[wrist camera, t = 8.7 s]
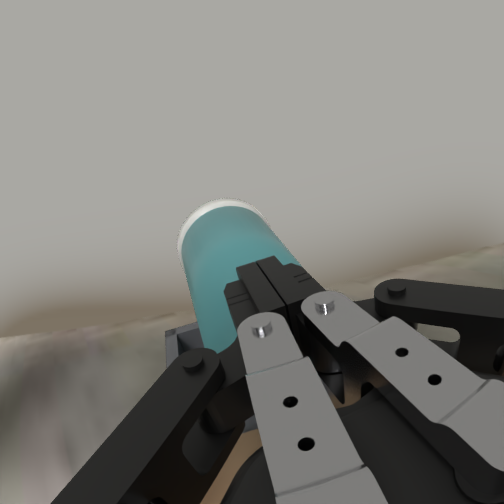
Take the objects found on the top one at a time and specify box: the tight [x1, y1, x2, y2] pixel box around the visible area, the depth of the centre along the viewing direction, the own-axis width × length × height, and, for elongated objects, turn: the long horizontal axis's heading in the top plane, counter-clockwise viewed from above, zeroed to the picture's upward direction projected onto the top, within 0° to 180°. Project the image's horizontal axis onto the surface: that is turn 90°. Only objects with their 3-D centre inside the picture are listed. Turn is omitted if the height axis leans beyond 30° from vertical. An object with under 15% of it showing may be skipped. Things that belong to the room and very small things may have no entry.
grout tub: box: [177, 198, 302, 354], centre depth 19 cm, size 7×7×11 cm
